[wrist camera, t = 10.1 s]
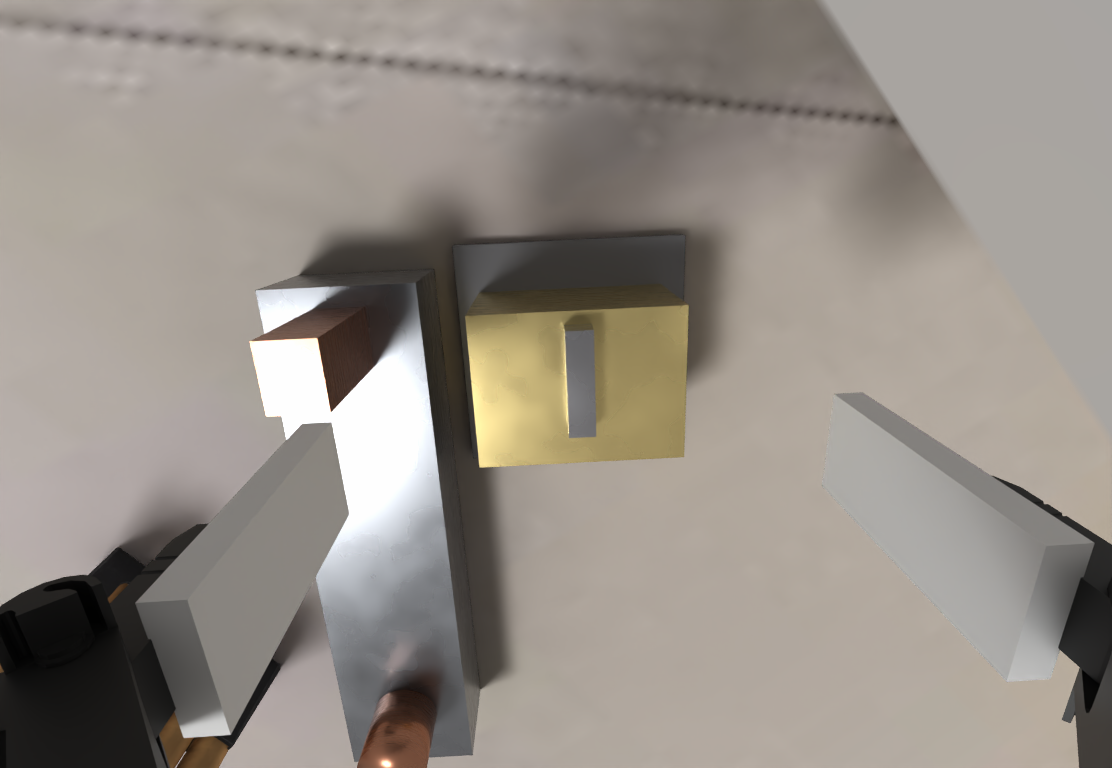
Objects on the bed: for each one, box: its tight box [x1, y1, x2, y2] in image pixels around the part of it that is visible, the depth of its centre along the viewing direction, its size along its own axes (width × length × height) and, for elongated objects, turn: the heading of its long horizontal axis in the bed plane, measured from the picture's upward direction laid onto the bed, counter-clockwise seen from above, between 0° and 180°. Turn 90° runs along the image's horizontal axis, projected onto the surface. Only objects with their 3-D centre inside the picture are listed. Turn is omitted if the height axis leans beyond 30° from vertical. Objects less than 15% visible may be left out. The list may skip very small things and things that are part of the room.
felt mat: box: [452, 234, 685, 458], centre depth 26 cm, size 10×10×1 cm
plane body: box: [250, 269, 480, 768], centre depth 25 cm, size 24×6×9 cm, turn 2°
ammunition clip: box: [0, 548, 280, 768], centre depth 25 cm, size 11×2×12 cm, turn 42°
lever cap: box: [465, 284, 689, 468], centre depth 23 cm, size 6×8×6 cm
